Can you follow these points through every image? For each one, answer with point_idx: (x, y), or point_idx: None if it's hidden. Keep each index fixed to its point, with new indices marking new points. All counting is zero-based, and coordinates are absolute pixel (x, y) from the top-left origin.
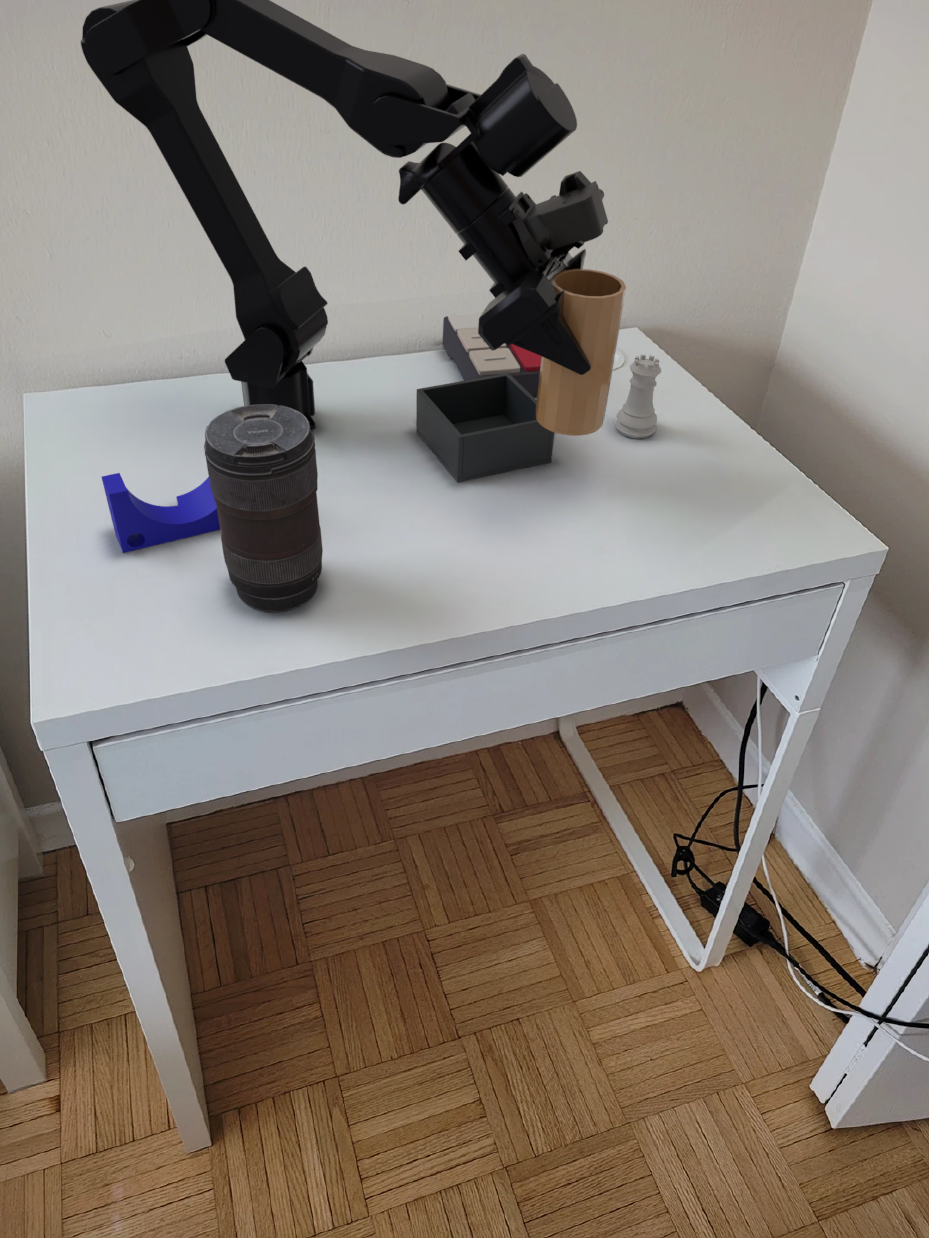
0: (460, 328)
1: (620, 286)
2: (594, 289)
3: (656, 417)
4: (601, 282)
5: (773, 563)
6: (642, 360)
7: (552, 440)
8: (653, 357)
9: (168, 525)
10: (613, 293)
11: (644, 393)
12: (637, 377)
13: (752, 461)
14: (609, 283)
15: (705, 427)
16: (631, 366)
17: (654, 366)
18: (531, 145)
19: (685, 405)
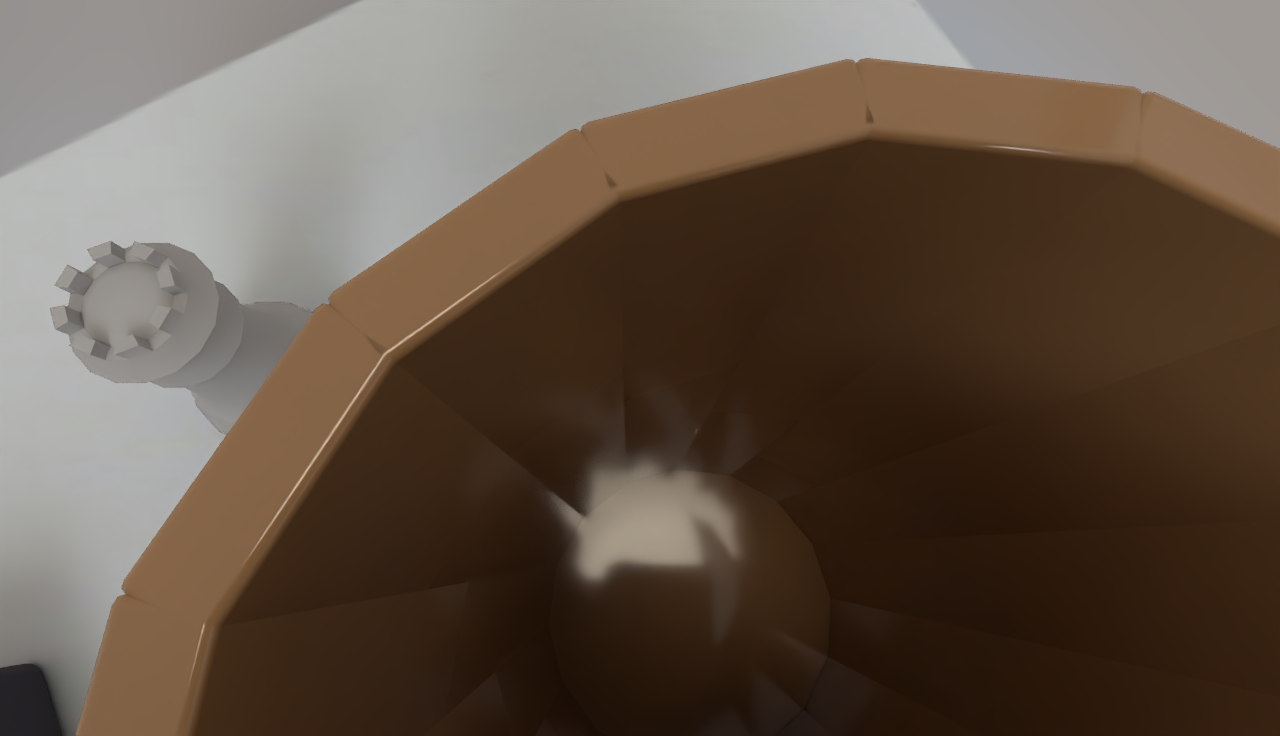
0: None
1: (785, 171)
2: (356, 680)
3: (268, 302)
4: (326, 584)
5: (904, 10)
6: (99, 321)
7: None
8: (75, 269)
9: None
10: (540, 357)
11: (247, 326)
12: (203, 346)
13: (418, 42)
14: (417, 423)
15: (232, 166)
16: (141, 373)
17: (154, 264)
18: None
19: (85, 229)
